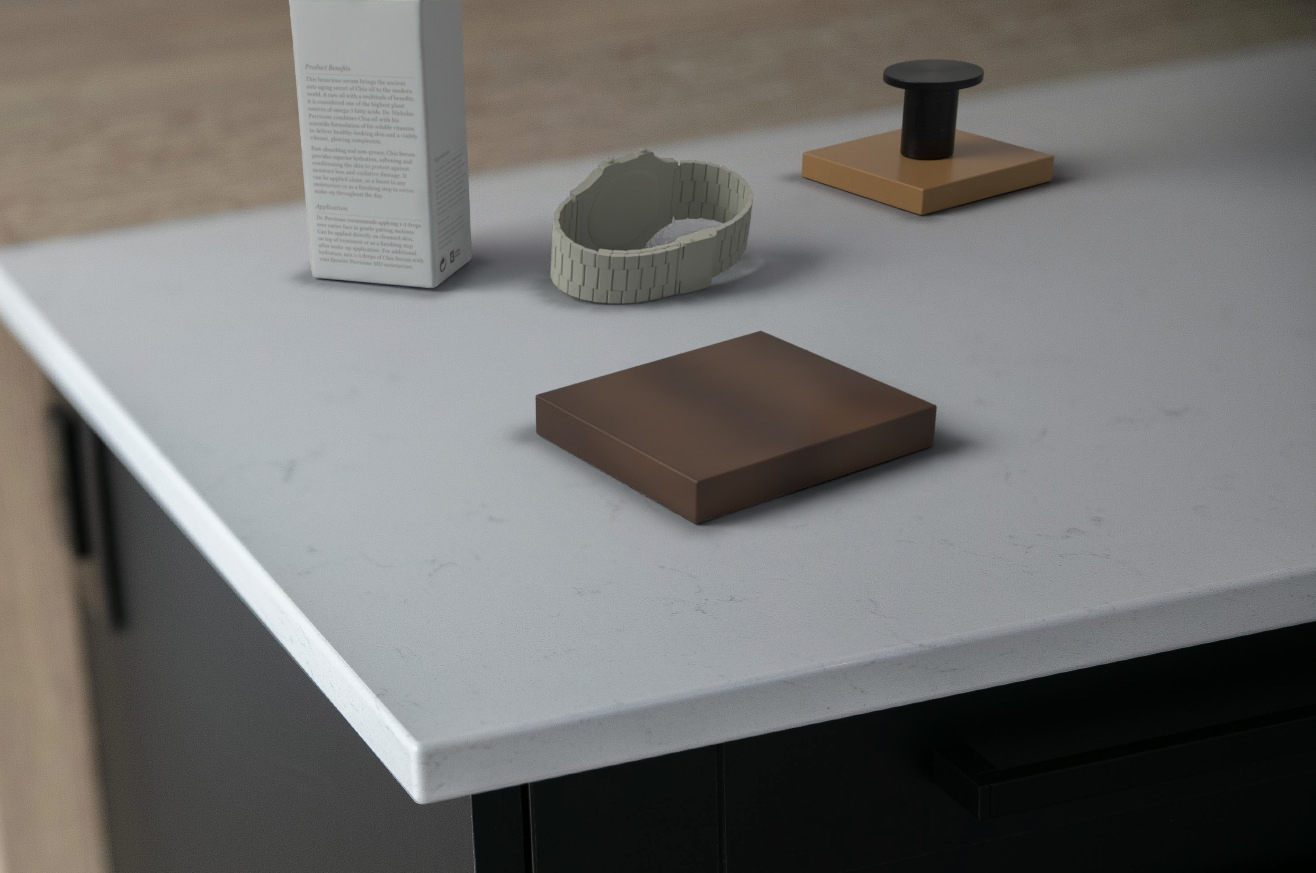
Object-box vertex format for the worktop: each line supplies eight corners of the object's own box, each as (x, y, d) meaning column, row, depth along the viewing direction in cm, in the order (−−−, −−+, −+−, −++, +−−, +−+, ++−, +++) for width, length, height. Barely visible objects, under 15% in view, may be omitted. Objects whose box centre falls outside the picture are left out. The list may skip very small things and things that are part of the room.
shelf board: (759, 367, 72) (761, 329, 72) (934, 446, 65) (938, 405, 65) (534, 434, 68) (534, 394, 68) (695, 525, 61) (697, 482, 61)
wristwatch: (697, 237, 86) (700, 124, 83) (788, 275, 81) (794, 156, 78) (519, 279, 82) (517, 162, 80) (602, 322, 77) (603, 198, 75)
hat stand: (927, 145, 96) (936, 42, 93) (1052, 181, 90) (1065, 71, 87) (800, 177, 93) (806, 70, 90) (921, 216, 86) (930, 102, 84)
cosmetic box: (474, 260, 85) (465, -25, 79) (434, 292, 82) (422, -3, 76) (350, 248, 88) (332, -29, 82) (306, 279, 84) (284, -8, 78)
